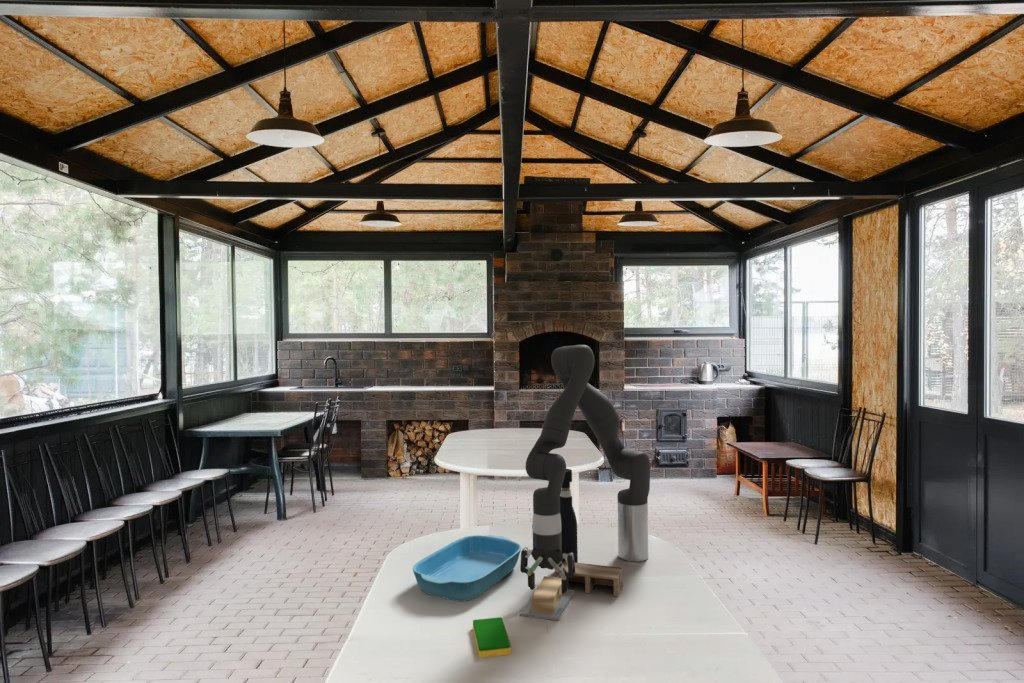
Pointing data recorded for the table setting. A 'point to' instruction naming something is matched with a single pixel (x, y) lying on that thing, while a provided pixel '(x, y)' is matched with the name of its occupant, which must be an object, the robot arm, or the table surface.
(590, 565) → the walnut shelf
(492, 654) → the dish sponge
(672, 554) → the table surface
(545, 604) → the oak block
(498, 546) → the casserole dish
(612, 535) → the table surface
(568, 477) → the wine bottle
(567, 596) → the slate mat
